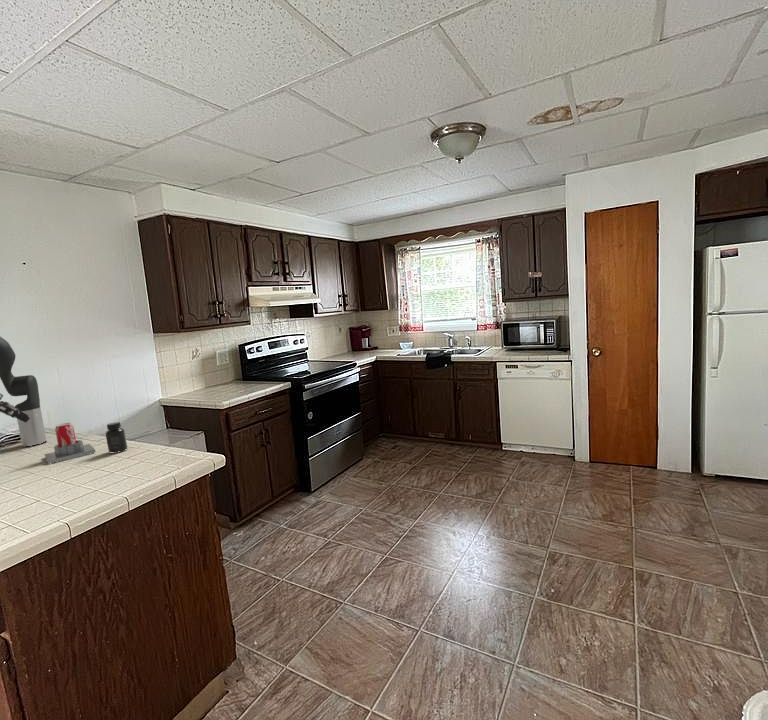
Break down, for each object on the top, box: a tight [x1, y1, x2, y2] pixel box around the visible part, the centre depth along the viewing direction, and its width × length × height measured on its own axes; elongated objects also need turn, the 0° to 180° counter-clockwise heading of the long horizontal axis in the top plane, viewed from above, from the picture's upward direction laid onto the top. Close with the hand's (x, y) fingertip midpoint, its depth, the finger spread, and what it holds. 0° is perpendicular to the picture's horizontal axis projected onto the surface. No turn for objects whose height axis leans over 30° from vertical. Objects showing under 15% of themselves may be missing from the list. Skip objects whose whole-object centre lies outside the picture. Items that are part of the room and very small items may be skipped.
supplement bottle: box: [105, 421, 128, 453], centre depth 182 cm, size 7×7×12 cm
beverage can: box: [54, 422, 77, 447], centre depth 182 cm, size 6×6×12 cm
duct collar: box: [44, 439, 96, 465], centre depth 182 cm, size 14×16×5 cm
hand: (27, 418), depth 173 cm, fingers open, 8 cm apart
